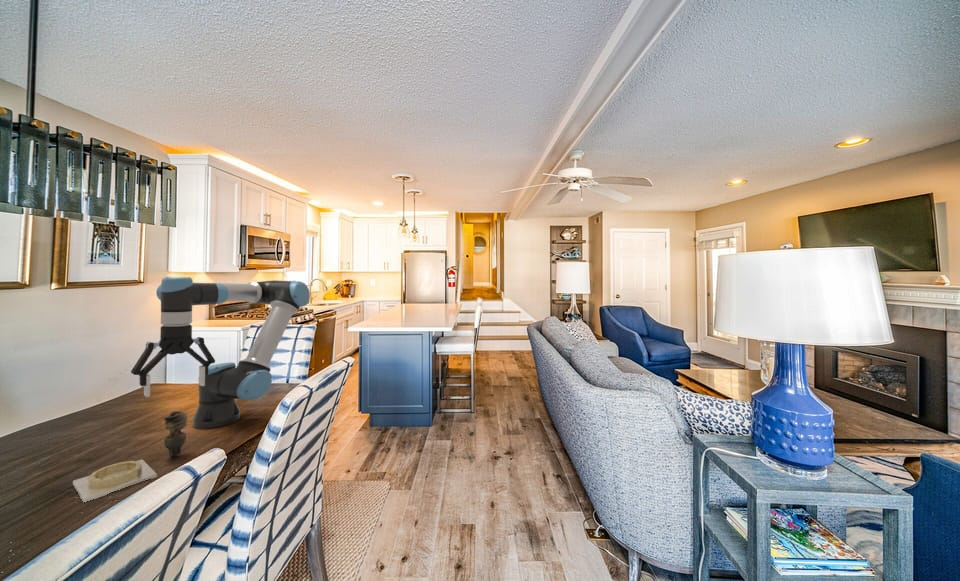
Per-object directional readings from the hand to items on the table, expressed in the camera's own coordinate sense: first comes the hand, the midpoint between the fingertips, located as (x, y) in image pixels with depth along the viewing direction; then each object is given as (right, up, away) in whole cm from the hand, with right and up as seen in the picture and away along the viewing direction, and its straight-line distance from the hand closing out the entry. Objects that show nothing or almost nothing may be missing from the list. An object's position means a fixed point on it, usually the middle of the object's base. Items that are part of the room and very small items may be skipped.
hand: (175, 390), depth 109 cm
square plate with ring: (-6, -22, -13) cm, 26 cm away
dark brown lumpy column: (-1, -22, +1) cm, 22 cm away
